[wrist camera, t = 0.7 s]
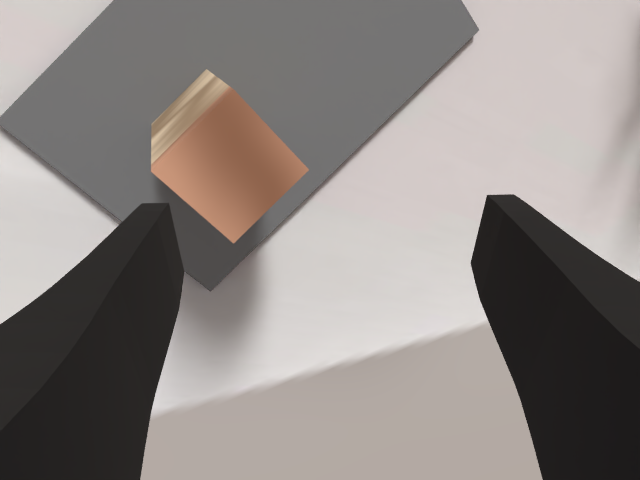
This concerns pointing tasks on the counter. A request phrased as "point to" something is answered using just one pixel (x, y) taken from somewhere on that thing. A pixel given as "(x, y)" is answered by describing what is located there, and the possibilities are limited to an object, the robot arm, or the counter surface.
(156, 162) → the long block
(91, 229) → the counter surface
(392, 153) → the counter surface
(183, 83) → the rubber mat
